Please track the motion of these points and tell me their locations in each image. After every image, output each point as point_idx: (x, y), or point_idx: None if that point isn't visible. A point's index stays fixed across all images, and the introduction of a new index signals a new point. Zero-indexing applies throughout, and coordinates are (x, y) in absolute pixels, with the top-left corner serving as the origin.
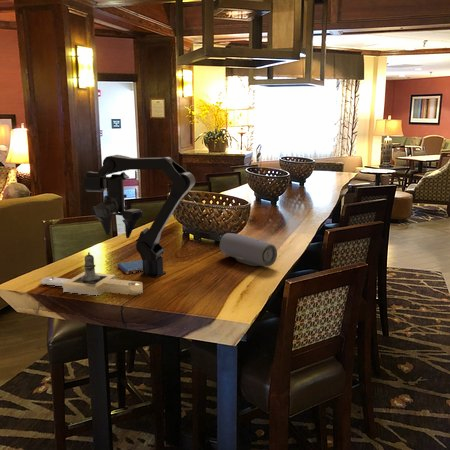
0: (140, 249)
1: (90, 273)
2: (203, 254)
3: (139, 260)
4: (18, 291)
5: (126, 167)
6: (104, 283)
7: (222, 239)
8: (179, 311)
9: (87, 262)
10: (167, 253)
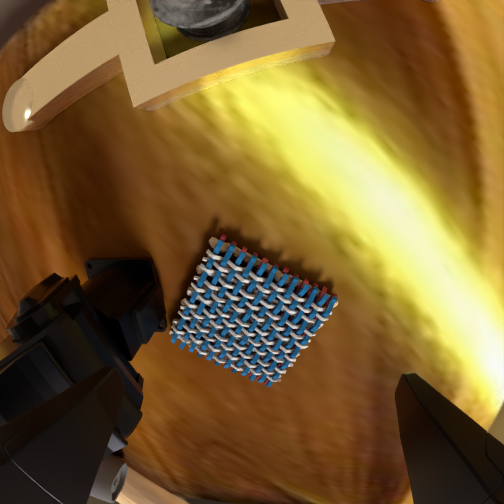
0: (40, 300)
1: None
2: (179, 464)
3: (274, 375)
4: None
5: None
6: (105, 13)
7: (105, 485)
8: None
9: None
10: (271, 455)
